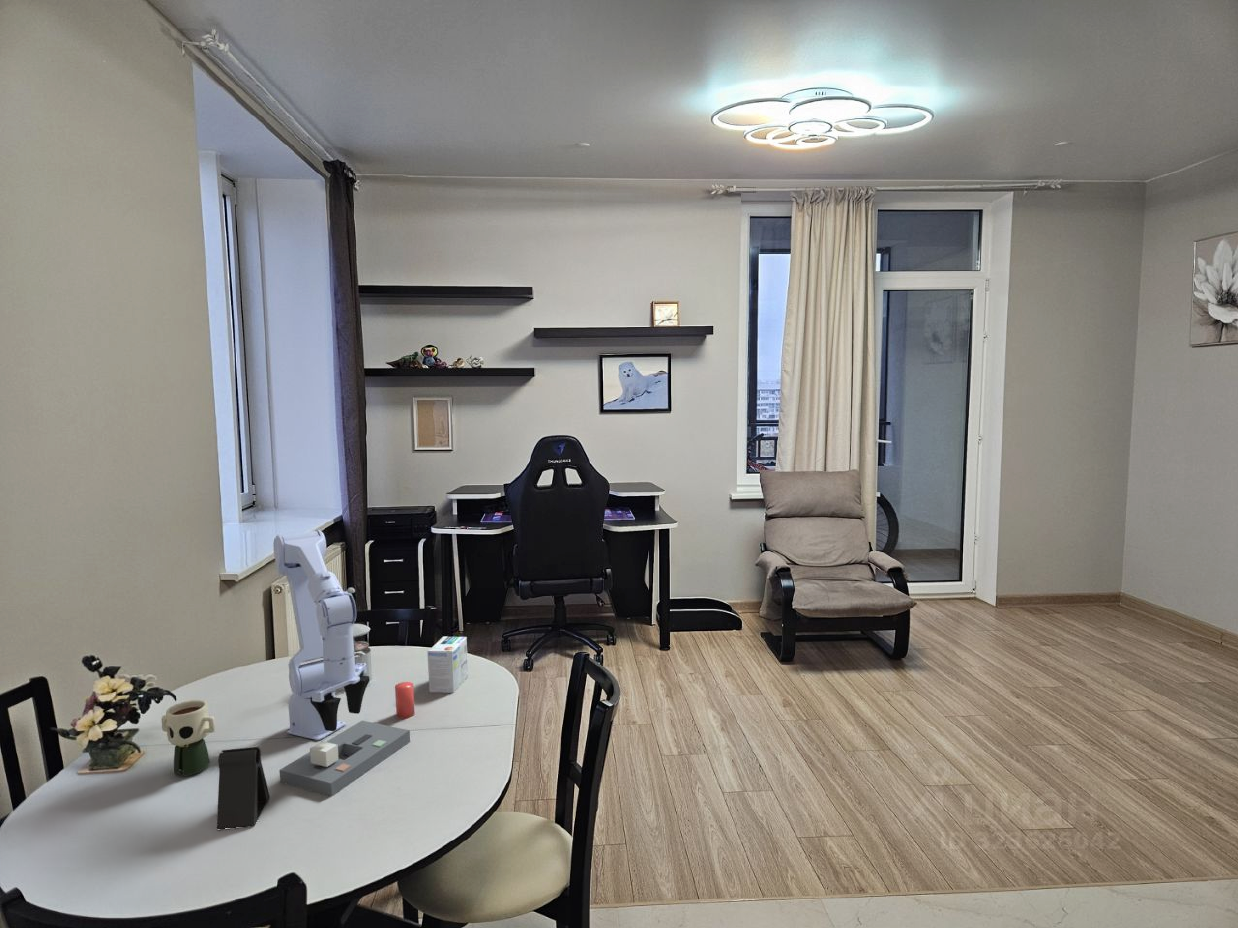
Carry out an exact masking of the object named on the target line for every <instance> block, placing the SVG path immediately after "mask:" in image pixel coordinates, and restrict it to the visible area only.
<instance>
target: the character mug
mask: <svg viewBox="0 0 1238 928" xmlns="http://www.w3.org/2000/svg"><path fill="white" fill-rule="evenodd" d="M215 723H216V722H215V717H214V716H209V707H208V702H207V701H205V700H201V699H193V700H187V701H183V702H180V703H179V702H178V703H176V704H174V705H172V706H170V707H168V709H167V710H166V712H165V715H162V717H161V729H162V731H163V732H166V737H167V741H168V742H169V743H170V744H171V745H173V746H174V755H173V774H174V775H176V776H180V771H182V774H183V776H189V775H190V776H191V775H193V774H194V775H195V774H197V773H200V772H202V771H203V770H204V769H205V768H206V767H208V766H209V764H210V763H211V762H210V757H209V751H208V747H207V743H206V740H205V738H206V737H207V736H208V735H209V733H210V734H211V733H214V732H215V730H216V724H215Z"/></svg>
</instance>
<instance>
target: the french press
mask: <svg viewBox="0 0 1238 928" xmlns="http://www.w3.org/2000/svg"><path fill="white" fill-rule="evenodd" d="M346 591H347V592H348V593H350V594H351V595H352V596H353V594H354V593H355V592H356V589H355V588H354V587H348V589H347V590H346ZM352 626H353V643H354V659H355V665H356V664H358V663H362V664H366V668H367V673H365V674H363V676H369V679H370V681H369V683H368V685H367V687H366V689H367V688H369V687H372V686H373V685H375V683H377V680H378V679H377V678H376V677H375V676H374V675H373V665H372V649H371V648H370V643H369V642H367V641H363V640H361V641H360V640H359V641H355V638H357V637H362V636H365V635H367V634H369V633H370V630H371V628H370V627H369V626H367V625H366V624H361V623H355V622H352ZM363 653H364V654H363ZM338 690H340V691H345V689H344V687H341V688H339V689H338Z"/></svg>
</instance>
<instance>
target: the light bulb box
mask: <svg viewBox="0 0 1238 928" xmlns="http://www.w3.org/2000/svg"><path fill="white" fill-rule="evenodd" d="M467 638H468V637H467V636H442V637H441V638H440V639H439V640H438V641H437V642H436V643H435V644H434V645H433V646H431V648H430V649H427V666H428V667H427V668H428V670H427V671H428V686H429V687H428V688H429V693H443V694H444V693H448V694H449V693H450V694H454V693H455V691H457V690H458V689H459V687H460V686H461V685H462V684H463V682H464V681H465V680H466V679H467V678H468V677H469V665H468V663H469V661H468V646H467V645H468V643H467V640H468V639H467Z"/></svg>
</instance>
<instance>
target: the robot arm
mask: <svg viewBox="0 0 1238 928" xmlns="http://www.w3.org/2000/svg"><path fill="white" fill-rule="evenodd" d="M326 552H327V541H326V537H325V533H324V532H323V531H321V530H320V529H316V530H312V531H305V532H304V531H303V532H298V533H296V532H295V533H290V534H282V535H281V534H277V535H276V536H275V537H274V539H273V555H274V563H275V567H276V570H277V574H279V575H282V576H285V577H286V580H287V583H288V586H289V591H290V597H291V602H292V607H293V615H294V620H295V626H296V631H297V639H298V644H299V650H298V651H297V652H296V653H295V654H294V655H293V656H292V657H291V659H289V662H288V679H289V680H288V681H289V687H290V689H291V692H292V694H291V695H290V698H289V699H288V700H289V701H288V714H289V715H288V718H289V730H287V731H286V733H287V734H288V735H293V736H297V737H298V736H299V737H302V738H307V739H310V740H311V739H312V740H314V741H322V740H323V739H324V738H326V737H327V736H329V735H331V734H333V733H335V732H336V731H338V730H340V729H341V728H343V727H344V726H346V722H345V721H340V720H338V711H339V705H340V702H341V700H342V697H337V696H336V694H335V691H337V690H340V689H339V688H341V687H344V689H345V690H344V692H345V697H346V703H347V710H348V713H349V714H357V715H358V714H360V713H361V710H362V709H361V708H362V703H363V701H364V699H363V698H364V695H365V692H366V689H367V688H368V687H367V685H368V683H369V681H370V679H369V676H363V674H365V673H367V668H366V663H364V664H362V663H358V664H356V665H355V659H354V657H355V656H354V654H355V652H354V643H353V642H354V637H353V626H352V624H353V622H354V623H355V622H356V619H357V608H356V607H357V606H356V601H355V599H354V596H353V594H352V595H351V593H348V592H347V590H346V591H344V589H343V587H342V586H341V583H340V581H339V580H338V578H337V576H336V574H335V573H334V572H332V571H328V569H327V566H326V563H325V561H324V559H325V555H326ZM319 659H320V660H319ZM314 660H317V661H314ZM311 661H312V662H311ZM306 662H308V663H306ZM302 663H304V664H302ZM366 687H367V688H366Z"/></svg>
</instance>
